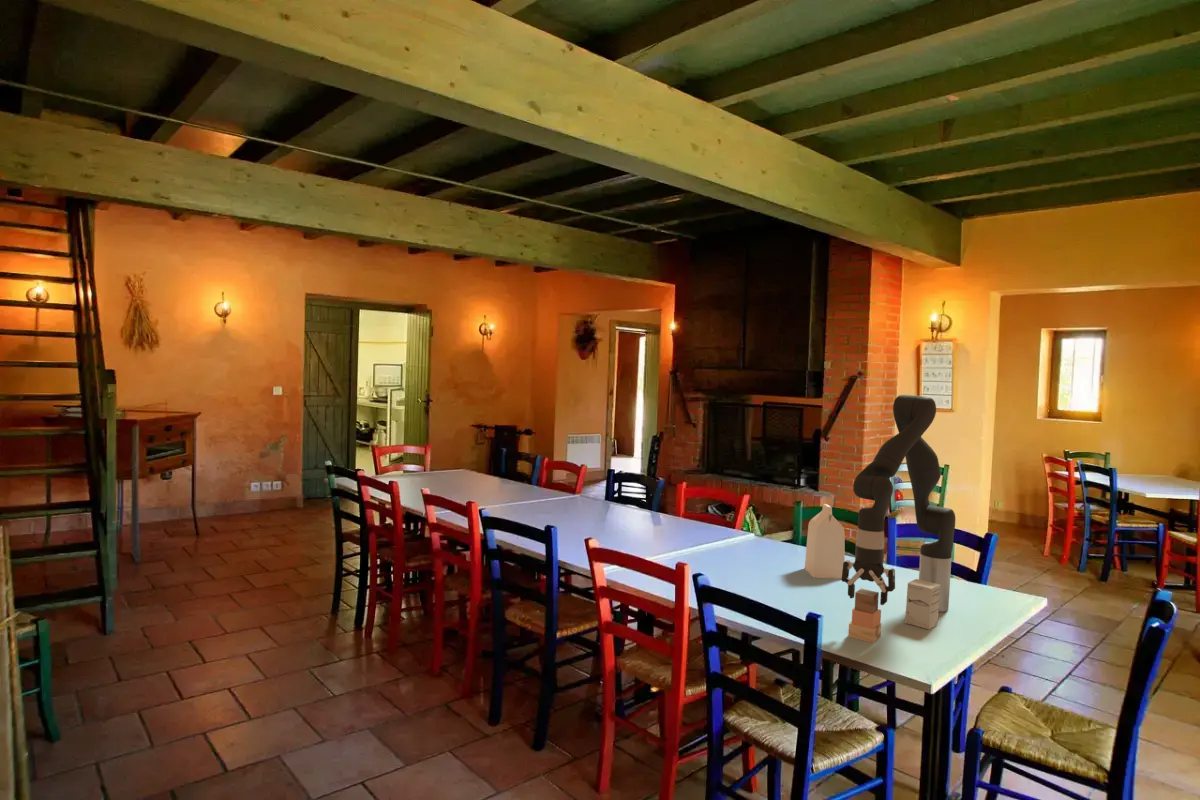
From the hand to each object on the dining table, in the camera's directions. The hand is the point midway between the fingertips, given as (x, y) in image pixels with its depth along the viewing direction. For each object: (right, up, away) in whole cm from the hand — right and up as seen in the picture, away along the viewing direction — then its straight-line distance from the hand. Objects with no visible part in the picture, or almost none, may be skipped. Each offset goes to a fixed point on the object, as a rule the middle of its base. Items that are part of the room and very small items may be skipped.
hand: (866, 601), depth 199 cm
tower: (0, -7, 0) cm, 7 cm away
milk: (+9, -9, +65) cm, 66 cm away
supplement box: (+21, -11, +13) cm, 27 cm away
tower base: (-1, -11, 0) cm, 11 cm away
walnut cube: (0, -3, 0) cm, 3 cm away
